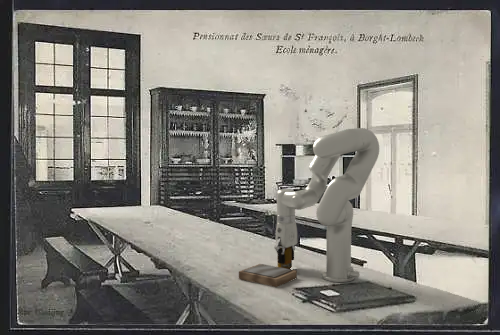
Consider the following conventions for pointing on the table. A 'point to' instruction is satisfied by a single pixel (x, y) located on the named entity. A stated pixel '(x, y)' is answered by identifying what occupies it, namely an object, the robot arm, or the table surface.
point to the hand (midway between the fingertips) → (286, 261)
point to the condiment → (286, 258)
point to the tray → (267, 275)
